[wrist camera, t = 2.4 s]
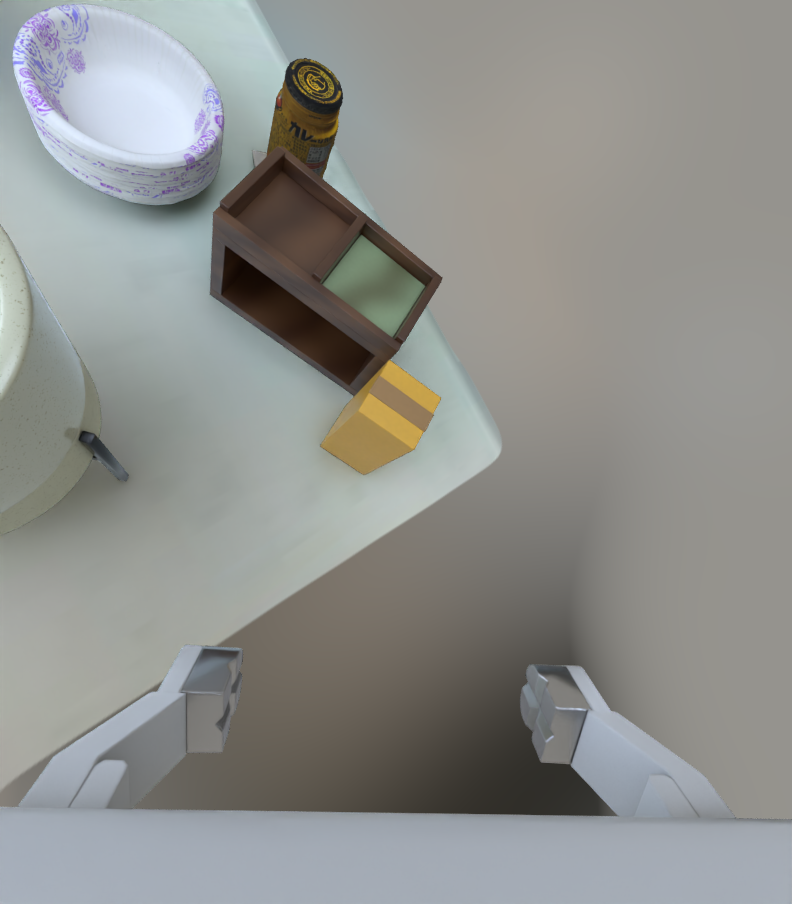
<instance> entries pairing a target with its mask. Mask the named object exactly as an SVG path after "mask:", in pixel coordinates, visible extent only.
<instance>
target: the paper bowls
mask: <svg viewBox="0 0 792 904" xmlns="http://www.w3.org/2000/svg"><path fill="white" fill-rule="evenodd" d="M12 58H13V66H14V73H15V77H16V80H17V83H18V86H19V89H20V92H21V94H22V96H23V98H24V101H25V104H26V107H27V109H28V112H29V114H30V117H31V119H32V122H33V124H34V127H35V129H36V131H37V134H38V136H39V138H40V140H41V141H42V143H43V145H44V146H45V148H46V149H47V150H48V152H49V153H50V154H51V155H52V156H53V157H54V158H55V159H56V160H57V161H58V162H59V163H60V164H61V165H62V166H63V167H64V168H65V169H66V170H67V171H68V172H70V173H71V174H72V175H74V176H75V177H76V178H77V179H79V180H80V181H82V182H83V183H85V184H87V185H88V186H90V187H92V188H94V189H96V190H98V191H100V192H102V193H104V194H107V195H110V196H112V197H116V198H119V199H122V200H125V201H129V202H133V203H139V204H146V205H164V204H174V203H177V202H180V201H182V200H185V199H188V198H191V197H193V196H195V195H197V194H198V193H200V192H201V191H202V190H204V189H205V188H207V186H208V185H209V184H210V183H211V182H212V181H213V179H214V177H215V176H216V174H217V172H218V168H219V165H220V159H221V153H222V142H223V129H224V111H223V104H222V101H221V98H220V95H219V92H218V90H217V88H216V86H215V84H214V82H213V80H212V78H211V77H210V75H209V74H208V72H207V71H206V69H205V68H204V67H203V65H202V64H201V63H200V62H199V60H198V59H197V58H196V57H195V56H194V55H193V54H192V53H191V52H190V51H189V50H188V49H187V48H186V47H184V46H183V45H182V44H181V43H180V42H178V41H177V40H176V39H174V38H173V37H172V36H170V35H169V34H167V33H166V32H164V31H163V30H161V29H160V28H158V27H156V26H154V25H153V24H151V23H149V22H147V21H145V20H143V19H141V18H138V17H136V16H134V15H131V14H128V13H125V12H123V11H119V10H115V9H112V8H108V7H102V6H96V5H86V4H70V5H61V6H56V7H52V8H49V9H46V10H43V11H41V12H39V13H37V14H36V15H34V16H33V17H31V18H30V19H29V20H28V21H27V22H26V23H25V24H24V25H23V26H22V28H21V29H20V31H19V33H18V35H17V37H16V40H15V43H14V48H13V57H12Z"/></svg>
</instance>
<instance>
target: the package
mask: <svg viewBox="0 0 792 904" xmlns="http://www.w3.org/2000/svg"><path fill="white" fill-rule="evenodd" d="M440 400H441V397H439V396H438V395H437V394H435V393H434V392H433V391H431V390H430V389H428V388H427V387H426V386H424V385H423V384H422V383H420V382H419V381H418V380H416V379H415V378H414V377H412V376H411V375H410V374H408V373H407V372H406V371H404V370H403V369H402V368H400V367H399V366H397V365H396V364H395V363H393V362H392V361H391V360H389V361H388V362H387V363H386V364H385V365H384V366H383V367H382V368H381V369H380V370H379V371H378V372H377V373H376V374H375V375H374V376H373V377H372V378H371V380H370V381H369V382H368V383H367V384H366V385H365V386H364V387H363V388H362V389H361V390H360V391H359V392H358V393H357V394H356V395H355V396H354V397H353V398H352V399H351V400H350V402H349V403H348V404H347V405H346V406H345V407H344V409H343V411H342V412H341V414H340V415H339V417H338V418H337V420H336V422H335V423H334V425H333V426H332V428H331V429H330V431H329V433H328V434H327V436H326V437H325V439H324V440H323V442H322V444H321V445H320V447H322V448H323V449H325V450H326V451H328V452H329V453H331V454H333V455H334V456H336V457H337V458H339V459H340V460H342V461H343V462H345V463H346V464H348V465H349V466H351V467H352V468H354V469H355V470H357V471H358V472H360V473H361V474H363V475H365V474H367V473H369V472H371V471H373V470H375V469H377V468H379V467H381V466H383V465H385V464H387V463H389V462H391V461H393V460H395V459H397V458H399V457H401V456H403V455H405V454H407V453H409V452H411V451H413V450H414V449H415V447H416V446H417V444H418V442H419V440H420V438H421V436H422V434H423V432H425V431H426V429H427V427H428V425H429V423H430V421H431V419H432V417H433V416H434V415H433V413H434V411H435V409H436V408H437V406H438V404H439V402H440Z"/></svg>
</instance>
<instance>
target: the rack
mask: <svg viewBox="0 0 792 904" xmlns="http://www.w3.org/2000/svg"><path fill="white" fill-rule="evenodd" d="M212 235H213V236H212V258H211V283H210V295H212V296H213V297H214V298H216V299H217V300H219V301H220V302H221V303H223V304H224V305H226V306H227V307H229V308H230V309H231V310H233V311H234V312H236V313H237V314H239V315H240V316H241V317H243V318H244V319H246V320H247V321H249V322H250V323H251V324H253V325H254V326H256V327H257V328H259V329H260V330H261V331H263V332H264V333H266V334H267V335H268V336H270V337H271V338H273V339H274V340H276V341H277V342H278V343H280V344H281V345H283V346H284V347H286V348H287V349H288V350H290V351H291V352H293V353H294V354H296V355H297V356H298V357H300V358H301V359H303V360H304V361H306V362H307V363H308V364H310V365H311V366H313V367H314V368H315V369H317V370H318V371H320V372H321V373H323V374H324V375H325V376H327V377H328V378H330V379H331V380H333V381H334V382H335V383H337V384H338V385H340V386H341V387H343V388H344V389H345V390H347V391H348V392H350V393H351V394H353V395H354V396H355V395H356V394H357V393H358V392H359V391H360V390H361V389H362V388H363V387H364V386H365V385H366V384H367V383H368V382H369V381H370V380H371V378H372V377H373V376H374V375H375V374H376V373H377V372H378V371H379V370H380V369H381V368H382V367H383V366H384V365H385V364H386V363H387V362H388V361H389V360H390V359H391V358H392V357H393V356H394V355H395V354H396V353H397V352H398V350H399V349H400V347H401V345H402V344H403V343H404V342H405V340H406V338H407V337H408V335H409V333H410V332H411V330H412V329H413V327H414V325H415V324H416V322H417V320H418V319H419V317H420V316H421V314H422V312H423V311H424V309H425V307H426V306H427V304H428V302H429V301H430V299H431V297H432V296H433V294H434V293H435V291H436V289H437V288H438V286H439V284H440V283H441V280H442V277H441V276H440V275H438V274H437V273H436V272H435V271H434V270H432V269H431V268H430V267H429V266H427V265H426V264H425V263H424V262H423V261H421V260H420V259H419V258H418V257H417V256H415V255H414V254H413V253H412V252H410V251H409V250H408V249H407V248H405V247H404V246H403V245H402V244H401V243H400V242H398V241H397V240H396V239H395V238H394V237H392V236H391V235H390V234H389V233H387V232H386V231H385V230H384V229H383V228H381V227H380V226H379V225H378V224H377V223H375V222H374V221H373V220H372V219H370V218H369V217H368V216H367V215H366V214H364V213H363V212H362V211H361V210H359V209H358V208H357V207H356V206H355V205H353V204H352V203H351V202H350V201H349V200H347V199H346V198H345V197H344V196H342V195H341V194H340V193H339V192H338V191H336V190H335V189H334V188H333V187H332V186H330V185H329V184H328V183H327V182H325V181H324V180H323V179H322V178H321V177H319V176H318V175H317V174H316V173H315V172H313V171H312V170H311V169H310V168H308V167H307V166H306V165H305V164H304V163H302V162H301V161H300V160H299V159H297V158H296V157H295V156H294V155H293V154H291V153H290V152H289V151H288V150H287V149H285V148H284V147H283V146H281V147H279V146H277V147H276V148H275V149H274V150H273V151H272V152H271V153H270V154H269V155H268V156H267V157H266V158H265V159H264V160H263V161H262V162H261V163H260V164H259V165H258V166H256V167H255V168H254V169H253V170H252V171H251V172H250V173H249V174H248V175H247V176H246V177H245V178H244V179H243V180H242V181H241V182H240V183H239V184H238V185H237V186H236V187H235V188H234V189H233V190H232V191H231V192H230V193H229V194H227V195H226V196H225V197H224V198H223V199H222V200H221V201H220V207H218V208H217V209H216V210H215V211H214V212H213V234H212Z"/></svg>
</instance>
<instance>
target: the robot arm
mask: <svg viewBox="0 0 792 904" xmlns="http://www.w3.org/2000/svg"><path fill="white" fill-rule="evenodd" d="M242 662H243V650H242V649H240V648H228V647H215V646H197V645H185V646H184V647H183V648H181V650H180V652H179V654H178V655H177V657H176V659H175V661H174V663H173V664H172V666H171V668H170V670H169V671H168V673H167V675H166V677H165V679H164V680H163V682H162V684H161V686H160V687H159V690H158V691H157V692H150V693H149V694H147V695H145V696H144V697H142V698H141V699H139V700H138V701H136V702H135V703H133V704H132V705H130V706H129V707H127V708H126V709H124V710H123V711H121V712H120V713H118V714H117V715H115V716H114V717H112V718H111V719H110V720H108V721H106V722H105V723H103V724H102V725H100V726H99V727H97V728H96V729H94V730H93V731H92V732H90V733H88V734H87V735H85V736H83V737H82V738H80V739H79V740H77V741H76V742H74V743H73V744H71V745H70V746H68V747H67V748H65V749H64V750H62V751H61V752H59V753H58V754H56V755H55V756H54V757H53V758H52V759H51V761H50V762H49V763H48V765H47V766H46V768H45V769H44V771H43V772H42V773H41V775H40V776H39V777H38V779H37V780H36V782H35V783H34V785H33V786H32V787H31V788H30V790H29V791H28V793H27V794H26V795H25V797H24V798H23V800H22V801H21V802H20V804H19V805H18V807H0V904H792V819H752V818H736V817H735V815H734V814H733V813H732V812H731V810H730V809H729V808H728V806H727V805H726V804H725V802H724V801H723V800H722V798H721V797H720V796H719V794H718V793H717V792H716V790H715V789H714V788H713V786H712V785H711V784H710V782H709V781H708V780H707V779H706V777H705V776H704V775H703V774H702V773H701V772H699V771H698V770H696V769H695V768H694V767H692V766H691V765H690V764H688V763H687V762H685V761H684V760H683V759H681V758H679V757H678V756H677V755H676V754H674V753H673V752H672V751H670V750H669V749H667V748H666V747H665V746H663V745H662V744H660V743H659V742H657V741H656V740H655V739H653V738H652V737H651V736H649V735H648V734H646V733H645V732H644V731H642V730H641V729H639V728H638V727H637V726H635V725H634V724H633V723H631V722H630V721H628V720H627V719H626V718H624V717H623V716H621V715H620V714H618V713H617V712H612V711H611V710H610V709H609V707H608V706H607V704H606V703H605V701H604V700H603V698H602V697H601V695H600V694H599V692H598V690H597V689H596V687H595V686H594V684H593V683H592V681H591V680H590V678H589V677H588V675H587V674H586V672H585V671H584V669H583V668H582V667H580V666H567V665H563V666H558V665H536V664H530V665H529V667H528V668H527V671H526V678H527V680H528V683H527V684H526V685H525V686H524V687H523V688H522V692H521V696H520V709H521V713H522V717H523V720H524V722H525V725H526V726H528V728H530V729H531V730H532V731H533V735H532V742H533V744H534V747H535V749H536V752H537V754H538V756H539V759H540V761H541V762H547V763H562V764H563V763H564V764H571V766H572V767H573V768H574V770H575V771H576V772H577V773H578V774H579V775H580V776H581V777H582V778H583V779H584V780H585V781H586V782H587V783H588V784H589V785H590V787H591V788H592V789H593V790H594V791H595V792H596V793H597V794H598V795H599V796H600V797H601V798H602V799H603V800H604V801H605V802H606V803H607V804H608V806H609V807H610V808H611V809H612V810H613V811H614V812H615V813H616V814H617V815H618V816H548V815H491V814H489V815H488V814H429V813H428V814H427V813H361V812H295V811H230V810H229V811H226V810H225V811H224V810H162V809H158V810H157V809H133V808H134V807H135V806H136V805H137V804H138V803H139V802H140V801H141V800H142V799H143V798H144V797H145V796H146V795H147V794H148V793H149V792H150V790H152V789H153V788H154V787H155V786H156V785H157V784H158V783H159V781H161V780H162V779H163V778H164V777H165V776H166V775H167V774H168V772H170V771H171V770H172V769H173V768H174V767H175V766H176V765H177V763H178V762H179V761H181V759H182V758H184V757H185V755H186V753H222V751H223V748H224V745H225V742H226V739H227V736H228V733H229V730H230V717H231V716H232V715H234V714H235V711H236V708H237V705H238V701H239V696H240V692H241V684H242V674H241V673H240V671H239V670H240V667H241V665H242Z"/></svg>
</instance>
